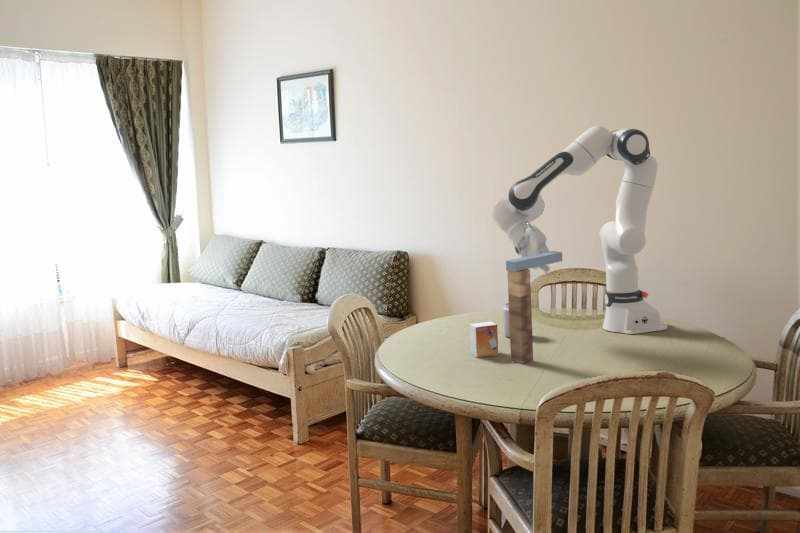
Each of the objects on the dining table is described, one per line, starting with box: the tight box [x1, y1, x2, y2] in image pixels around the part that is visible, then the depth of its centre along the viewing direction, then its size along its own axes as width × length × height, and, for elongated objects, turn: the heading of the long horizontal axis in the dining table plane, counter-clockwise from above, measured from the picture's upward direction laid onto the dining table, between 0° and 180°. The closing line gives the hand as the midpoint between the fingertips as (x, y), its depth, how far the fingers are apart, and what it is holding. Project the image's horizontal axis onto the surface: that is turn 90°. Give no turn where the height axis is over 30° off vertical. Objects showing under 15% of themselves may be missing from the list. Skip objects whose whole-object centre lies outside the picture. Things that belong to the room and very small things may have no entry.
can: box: [502, 302, 510, 338], centre depth 263 cm, size 8×8×12 cm
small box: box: [469, 320, 499, 358], centre depth 243 cm, size 8×6×10 cm
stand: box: [506, 268, 534, 365], centre depth 232 cm, size 5×5×30 cm
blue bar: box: [505, 250, 563, 271], centre depth 233 cm, size 22×4×3 cm, turn 127°
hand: (549, 264), depth 247 cm, fingers open, 8 cm apart
